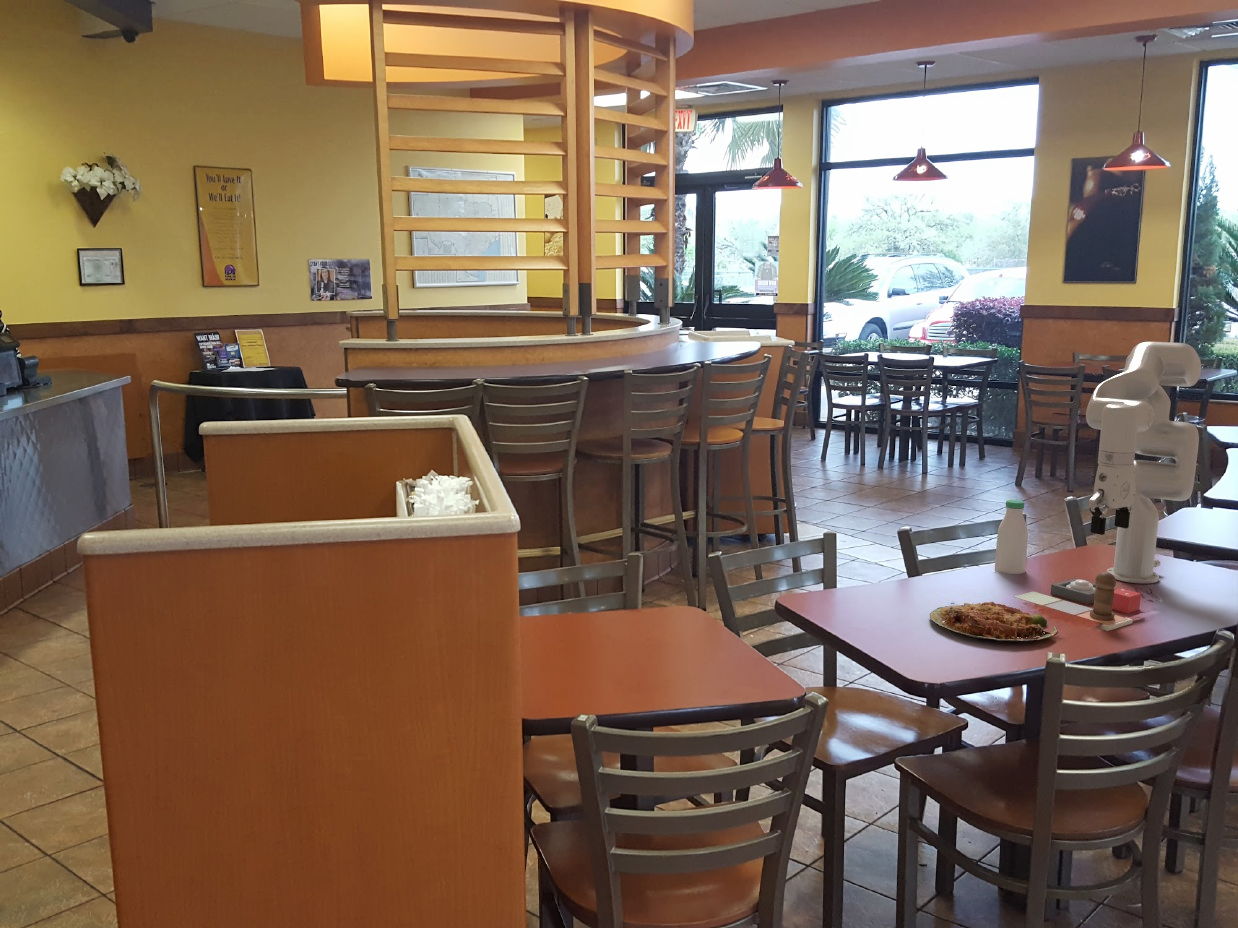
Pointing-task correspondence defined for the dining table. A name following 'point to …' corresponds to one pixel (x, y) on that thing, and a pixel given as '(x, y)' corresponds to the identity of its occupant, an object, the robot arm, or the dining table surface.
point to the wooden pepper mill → (1104, 597)
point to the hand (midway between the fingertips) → (1109, 530)
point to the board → (1073, 609)
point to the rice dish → (991, 621)
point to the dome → (1081, 586)
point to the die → (1126, 600)
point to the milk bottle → (1012, 540)
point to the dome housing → (1072, 592)
